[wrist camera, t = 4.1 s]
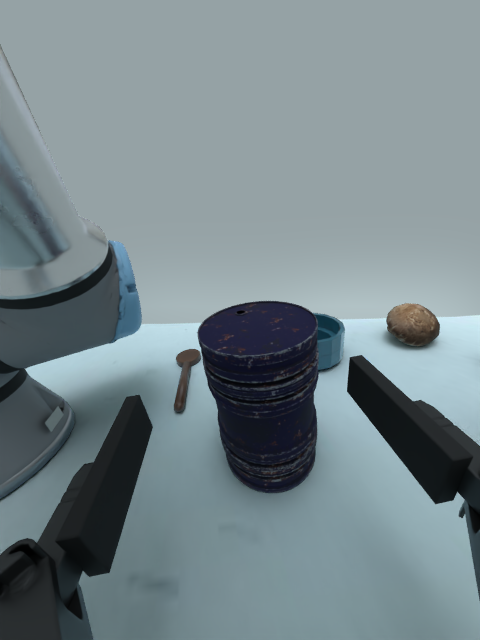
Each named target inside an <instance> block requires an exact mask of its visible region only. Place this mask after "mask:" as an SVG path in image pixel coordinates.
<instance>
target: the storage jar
mask: <svg viewBox="0 0 480 640" xmlns="http://www.w3.org/2000/svg"><path fill="white" fill-rule="evenodd" d="M317 334H318V322H317V318H316V316H315V315H314V314H313V313H312V312H311V311H309V310H308V309H306V308H304V307H302V306H299V305H296V304H292V303H287V302H279V301H259V302H250V303H244V304H239V305H235V306H231V307H228V308H225V309H223V310H221V311H219V312H216V313H214V314H213V315H211V316H210V317H208V318H207V319H206V320H204V322H203V323H202V324H201V325H200V327H199V329H198V340H199V344H200V347H201V351H202V356H203V365H204V370H205V374H206V376H207V380H208V386H209V389H210V391H211V392H212V395H213V397H214V398H215V400H216V404H217V408H218V423H219V427H220V436H221V440H222V444H223V447H224V450H225V452H226V456H227V460H228V463H229V466H230V468H231V470H232V472H233V473H234V474H235V476H236V477H237V478H238V479H239V480H240V481H241V482H242V483H243V484H245V485H246V486H248V487H250V488H252V489H254V490H257V491H260V492H265V493H279V492H284V491H287V490H290V489H292V488H294V487H296V486H298V485H299V484H300V483H301V482H302V481H304V479H305V478H306V477H307V476H308V475H309V473H310V471H311V469H312V467H313V464H314V461H315V446H316V440H317V418H316V409H315V405H314V391H315V388H316V384H317V381H318V360H319V357H318V356H319V353H318V347H317Z"/></svg>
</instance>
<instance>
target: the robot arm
mask: <svg viewBox="0 0 480 640" xmlns="http://www.w3.org/2000/svg"><path fill="white" fill-rule="evenodd" d="M141 322H142V315H141V307H140V301H139V296H138V292H137V289H136V284H135V278H134V274H133V270H132V266H131V263H130V260H129V257H128V254H127V252H126V249H125V247H124V246H123V244H122V243H120V242H114V241H110V240H109V241H108V240H107V238H106V236H105V234H104V232H103V231H102V230H101V228H100V227H99V226H97V225H96V224H95V223H93V222H91V221H90V220H88V219H85V218H83V217H80V216H79V215H78V213H77V211H76V209H75V207H74V204H73V202H72V200H71V198H70V196H69V194H68V191H67V189H66V187H65V185H64V183H63V181H62V178H61V176H60V174H59V172H58V170H57V167H56V165H55V163H54V161H53V159H52V156H51V154H50V152H49V150H48V148H47V146H46V143H45V141H44V139H43V137H42V135H41V132H40V130H39V128H38V126H37V124H36V122H35V119H34V117H33V115H32V113H31V111H30V108H29V106H28V104H27V102H26V100H25V98H24V95H23V93H22V91H21V89H20V87H19V85H18V82H17V80H16V78H15V76H14V74H13V72H12V70H11V67H10V65H9V63H8V61H7V58H6V56H5V54H4V52H3V50H2V47H1V45H0V499H1V498H3V497H4V496H6V495H7V494H9V493H10V492H12V491H13V490H14V489H16V488H17V487H19V486H20V485H21V484H23V483H24V482H25V481H27V480H28V479H29V478H30V477H31V476H33V475H34V474H35V473H36V472H37V471H38V470H40V469H41V468H42V467H43V466H44V465H45V464H46V463H47V462H48V461H49V460H50V459H51V458H52V457H53V456H54V455H55V454H56V452H57V451H58V450H59V449H60V448H61V446H62V445H63V444H64V442H65V441H66V439H67V438H68V436H69V434H70V433H71V430H72V428H73V425H74V421H75V416H74V413H73V411H72V409H71V407H70V406H69V404H68V403H67V402H66V401H65V400H64V399H63V398H61V397H60V396H58V395H57V394H55V393H54V392H52V391H51V390H49V389H48V388H46V387H45V386H43V385H42V384H40V383H39V382H37V381H36V380H34V379H32V378H31V377H30V376H29V375H28V373H27V372H26V370H25V369H24V368H27V367H30V366H33V365H37V364H40V363H43V362H47V361H50V360H53V359H57V358H60V357H64V356H67V355H70V354H74V353H77V352H81V351H84V350H87V349H91V348H94V347H98V346H101V345H104V344H108V343H109V344H110V343H114V342H115V341H116V340H118V339H120V338H123V337H126V336H129V335H131V334H134V333H135V332H136V331H138V329H139V328H140V326H141ZM347 392H348V393H349V394H350V396H351V397H352V398H353V399H354V401H355V402H356V403H357V405H358V406H359V407H360V408H361V410H362V411H363V412H364V413H365V415H366V416H367V417H368V419H369V420H370V421H371V422H372V424H373V425H374V426H375V427H376V429H377V430H378V431H379V433H380V434H381V435H382V436H383V438H384V439H385V440H386V442H387V443H388V444H389V445H390V447H391V448H392V449H393V450H394V452H395V453H396V454H397V456H398V457H399V458H400V459H401V461H402V462H403V463H404V464H405V466H406V467H407V468H408V470H409V471H410V472H411V473H412V475H413V476H414V477H415V479H416V480H417V481H418V482H419V484H420V485H421V486H422V487H423V489H424V490H425V491H426V493H427V494H428V495H429V496H430V498H431V499H432V500H433V501H434V503H435V504H438V503H443V502H448V501H452V500H454V498H455V495H456V493H457V492H458V493H459V494H460V495H461V496H462V497H463V498H464V499H465V501H464V503H463V505H462V507H461V509H460V511H459V517H461V518H463V516H464V514H465V515H466V521H467V527H468V533H469V539H470V545H471V551H472V557H473V563H474V569H475V575H476V581H477V587H478V593H479V599H480V446H479V445H478V444H477V443H476V442H474V441H473V440H472V439H471V438H470V437H468V436H467V435H466V434H465V433H464V432H463V431H461V430H460V429H459V428H458V427H457V426H454V425H453V423H452V422H451V421H450V420H448V419H447V418H445V417H444V415H442V414H441V413H440V412H439V411H438V410H437V409H435V408H434V407H433V406H431V405H429V404H427V403H425V402H423V401H421V400H419V401H412V400H411V399H409V398H408V397H407V396H406V395H405V394H404V393H403V392H402V391H401V390H400V389H398V388H397V387H396V386H395V385H394V384H393V383H392V382H391V381H390V380H389V379H387V378H386V377H385V376H384V375H383V374H382V373H381V372H380V371H379V370H377V369H376V368H375V367H374V366H373V365H372V364H371V363H370V362H369V361H368V360H366V359H365V358H364V357H363V356H362V355H360V356H354V357H350V362H349V374H348V386H347ZM152 428H153V426H152V424H151V421H150V419H149V417H148V414H147V412H146V409H145V407H144V405H143V402H142V400H141V397H140V395H135V396H129V397H126V399H125V401H124V403H123V405H122V407H121V409H120V411H119V413H118V415H117V417H116V419H115V421H114V423H113V425H112V427H111V429H110V431H109V433H108V435H107V437H106V439H105V441H104V443H103V445H102V447H101V449H100V451H99V453H98V455H97V457H96V459H95V461H94V462H93V463H88V464H84V465H83V466H82V468H81V469H80V470H79V471H78V472H77V473H76V474H75V476H74V477H73V479H72V481H71V482H70V484H69V486H68V488H67V491H66V492H65V493H64V495H63V497H62V499H61V502H60V503H59V504H58V506H57V508H56V510H55V511H54V513H53V515H52V517H51V519H50V521H49V522H48V524H47V526H46V528H45V530H44V531H43V533H42V535H41V537H40V539H39V541H38V542H37V543H36V542H35V541H34V540H33V539H28V538H26V539H23V540H20V541H18V542H16V543H15V544H13V545H11V546H10V547H8V548H7V549H6V550H5V551H4V552H3V553H2V554H1V555H0V640H93V636H92V632H91V628H90V624H89V620H88V616H87V611H86V607H85V603H84V599H83V595H82V591H81V587H80V585H79V584H78V582H79V579H80V576H81V574H82V571H84V572H85V573H86V574H87V575H88V576H89V577H90V576H95V575H100V574H105V573H109V572H110V569H111V566H112V562H113V559H114V556H115V552H116V549H117V546H118V542H119V539H120V536H121V532H122V529H123V525H124V522H125V519H126V515H127V512H128V509H129V505H130V502H131V499H132V495H133V492H134V489H135V485H136V482H137V478H138V475H139V472H140V468H141V465H142V462H143V458H144V455H145V452H146V448H147V445H148V441H149V438H150V435H151V431H152Z"/></svg>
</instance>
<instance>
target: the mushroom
mask: <svg viewBox="0 0 480 640" xmlns="http://www.w3.org/2000/svg"><path fill="white" fill-rule="evenodd" d="M386 322H387V325H388V327H387V329H388V331H389V332H390V333H392V334H393V335H394V336H395V337H396V338H397V339H399V340H400V341H401V342H403V343H405V344H408V345H411V346H423V345H426V344H428V343H430V342H432V341H433V340H434V339H435V338H436V337H437V336H438V335H439V330H440V324H439V322H438V320H437V319H436V317H435V315H434V314H433V313H432V312H431V311H429V310H428V309H427V308H425V307H423V306H421V305H419V304H402V305H399V306H396V307H394V308H393V309H392V310H391V311H390V312H389V313H388V316H387V321H386Z"/></svg>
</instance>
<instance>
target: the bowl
mask: <svg viewBox="0 0 480 640" xmlns="http://www.w3.org/2000/svg"><path fill="white" fill-rule="evenodd" d="M313 314H314V315H315V316H316V318H317V322H318V334H317V347H318V353H319V356H318V357H319V360H318V370H321V369H326V368H330V367H332V366H334V365H335V364H337V363H339V362H340V360H341V358H342V356H343V347H344V334H345V328H344V325H343V323H342V322H341V321H339V320H338V319H337V318H335V317H331V316H328V315H325V314H318V313H313Z"/></svg>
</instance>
